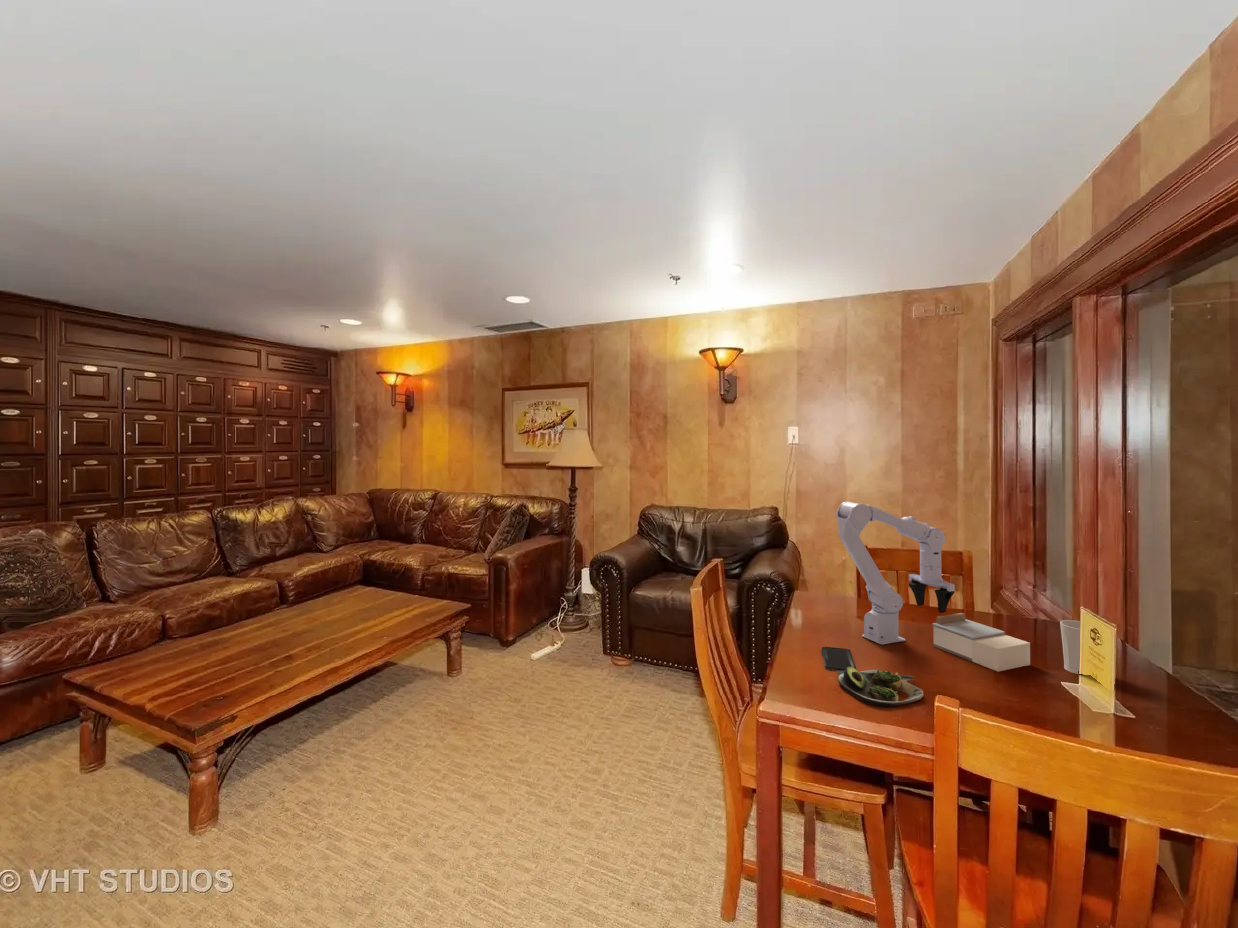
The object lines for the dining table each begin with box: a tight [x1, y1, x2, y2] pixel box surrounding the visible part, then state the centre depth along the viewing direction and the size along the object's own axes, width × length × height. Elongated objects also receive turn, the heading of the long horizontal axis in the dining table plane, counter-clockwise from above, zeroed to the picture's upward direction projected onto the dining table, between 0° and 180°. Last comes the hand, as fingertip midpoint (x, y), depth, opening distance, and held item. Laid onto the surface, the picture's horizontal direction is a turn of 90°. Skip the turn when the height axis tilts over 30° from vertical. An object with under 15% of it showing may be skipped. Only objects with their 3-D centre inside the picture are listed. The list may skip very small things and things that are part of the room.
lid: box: [931, 612, 1006, 639], centre depth 150 cm, size 12×12×2 cm
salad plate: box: [834, 667, 925, 708], centre depth 128 cm, size 19×18×5 cm
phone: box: [821, 646, 857, 672], centre depth 146 cm, size 8×1×15 cm
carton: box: [932, 625, 1031, 672], centre depth 147 cm, size 12×19×6 cm, turn 18°
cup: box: [1059, 619, 1081, 675], centre depth 135 cm, size 8×8×12 cm
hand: (931, 608), depth 161 cm, fingers open, 7 cm apart
